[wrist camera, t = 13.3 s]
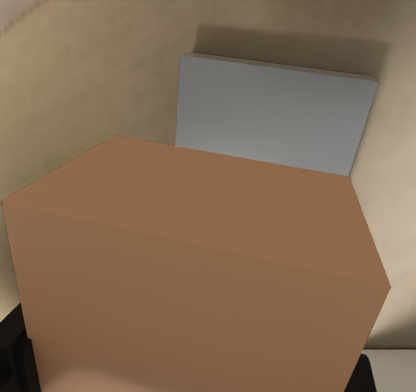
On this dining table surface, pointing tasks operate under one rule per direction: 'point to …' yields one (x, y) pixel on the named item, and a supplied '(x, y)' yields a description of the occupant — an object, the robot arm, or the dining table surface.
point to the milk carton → (393, 369)
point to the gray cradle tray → (272, 111)
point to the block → (192, 273)
